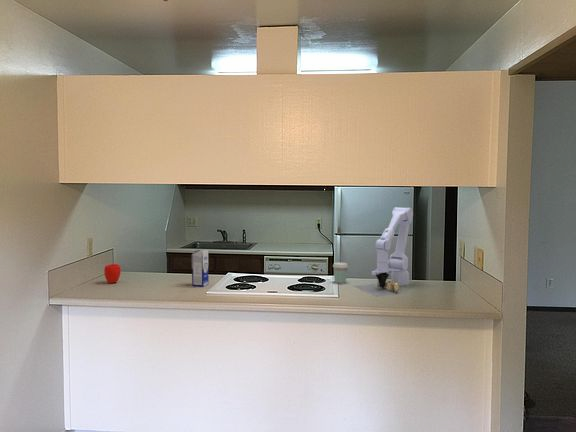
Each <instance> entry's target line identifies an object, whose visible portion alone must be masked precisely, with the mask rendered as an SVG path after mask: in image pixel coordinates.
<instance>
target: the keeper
mask: <svg viewBox="0 0 576 432" xmlns="http://www.w3.org/2000/svg"><path fill="white" fill-rule="evenodd" d="M388 282H389V284H392V285H394V293H396V294H397V293H398V291H399V286H398V285H399V283H397V282H395V281H391V280H388ZM397 295H398V294H397Z"/></svg>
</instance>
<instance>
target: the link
mask: <svg viewBox="0 0 576 432" xmlns="http://www.w3.org/2000/svg"><path fill="white" fill-rule="evenodd" d="M376 284H377V286H380V285H379V281H378V279H377V283H376ZM383 288H385V289H388V290H390V291H394V285H392V284H389V281H387V280H386V282H385V286H384V287H383Z"/></svg>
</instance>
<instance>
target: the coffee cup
mask: <svg viewBox="0 0 576 432" xmlns="http://www.w3.org/2000/svg"><path fill="white" fill-rule="evenodd" d="M332 267H333V277H334V283H335V284H338V285H344V284H346V282H347V275H348V274H347V273H348V267H349V266H348V263H347V262H341V261H340V262H337V261H335V262H334V263H333V264H332Z"/></svg>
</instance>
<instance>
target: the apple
mask: <svg viewBox="0 0 576 432" xmlns="http://www.w3.org/2000/svg"><path fill="white" fill-rule="evenodd" d="M121 271H122V269H121V266H120V265H119V264H117V263H112V264H107V265H105V266H104V271H103V272H104V278H105V280H106V282H107V283H108V284H109V283H111V284H115V283H117V282H118V281H119V278H120V276H121V273H122V272H121ZM114 282H115V283H114Z"/></svg>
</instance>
